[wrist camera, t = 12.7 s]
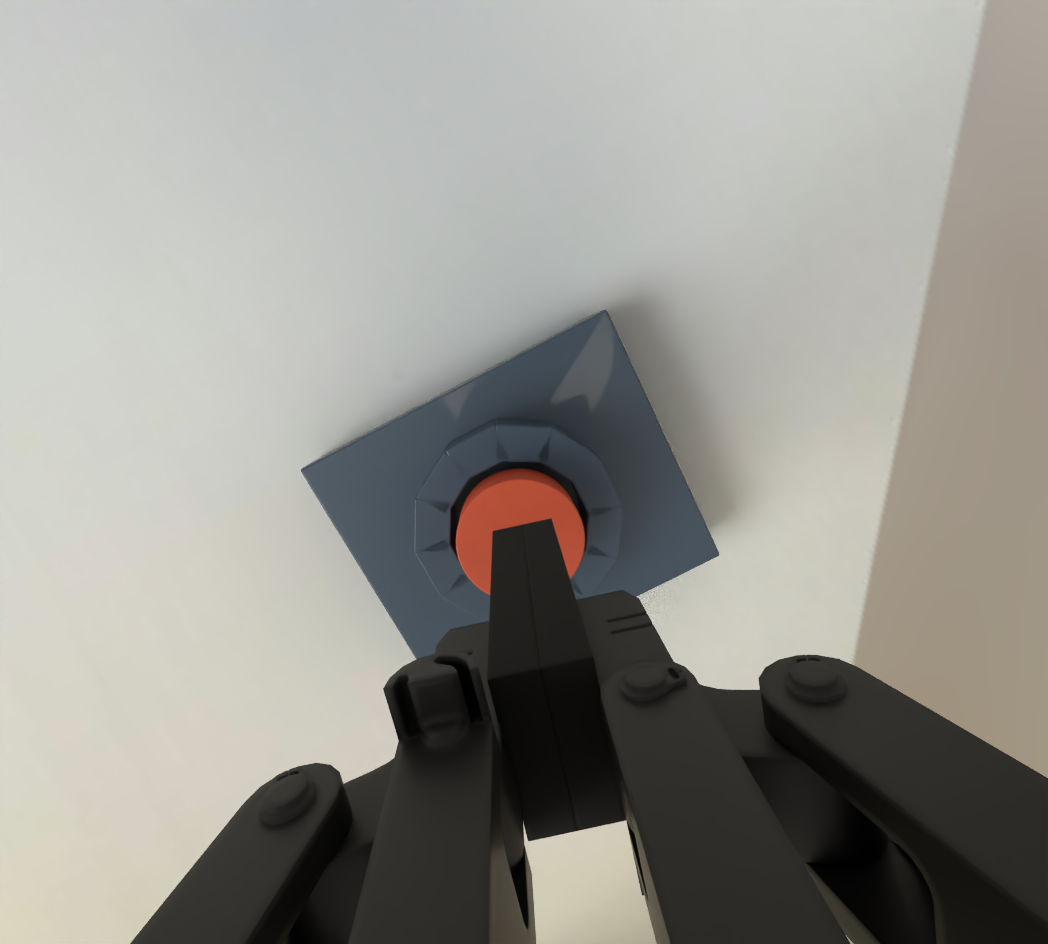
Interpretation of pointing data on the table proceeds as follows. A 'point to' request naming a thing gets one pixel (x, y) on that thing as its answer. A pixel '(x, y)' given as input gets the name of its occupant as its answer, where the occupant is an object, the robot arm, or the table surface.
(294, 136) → the table surface
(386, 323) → the table surface
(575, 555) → the button
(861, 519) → the table surface
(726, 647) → the table surface
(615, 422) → the button block
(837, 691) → the robot arm
